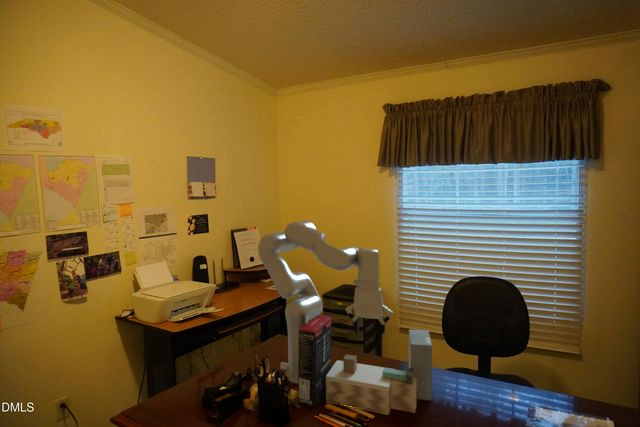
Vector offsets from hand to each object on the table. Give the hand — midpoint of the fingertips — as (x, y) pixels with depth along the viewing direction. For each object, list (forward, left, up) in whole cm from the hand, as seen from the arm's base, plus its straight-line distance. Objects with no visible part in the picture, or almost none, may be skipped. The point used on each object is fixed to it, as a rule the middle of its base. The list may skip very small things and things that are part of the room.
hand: (369, 332), depth 128 cm
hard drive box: (+16, +13, -25) cm, 32 cm away
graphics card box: (-19, -4, -25) cm, 31 cm away
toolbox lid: (-3, 0, -16) cm, 17 cm away
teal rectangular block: (+10, 0, -14) cm, 18 cm away
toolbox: (+1, 0, -24) cm, 24 cm away
